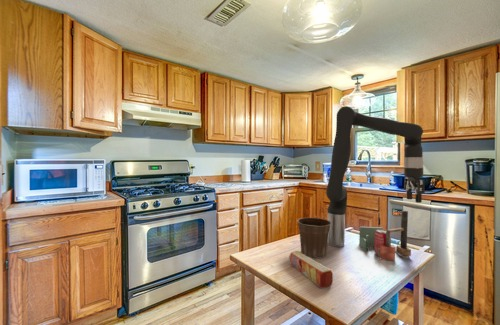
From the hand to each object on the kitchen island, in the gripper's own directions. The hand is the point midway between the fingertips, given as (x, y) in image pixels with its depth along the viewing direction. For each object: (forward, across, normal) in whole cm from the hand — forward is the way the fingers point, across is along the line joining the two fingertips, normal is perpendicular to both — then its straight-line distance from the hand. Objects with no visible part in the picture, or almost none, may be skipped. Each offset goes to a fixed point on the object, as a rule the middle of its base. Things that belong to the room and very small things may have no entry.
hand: (413, 200), depth 112 cm
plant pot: (+27, +4, -47) cm, 54 cm away
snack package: (+27, +26, -51) cm, 63 cm away
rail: (+28, -8, -4) cm, 29 cm away
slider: (+27, 0, -9) cm, 29 cm away
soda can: (+28, -2, -14) cm, 31 cm away
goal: (+27, -10, -14) cm, 32 cm away
